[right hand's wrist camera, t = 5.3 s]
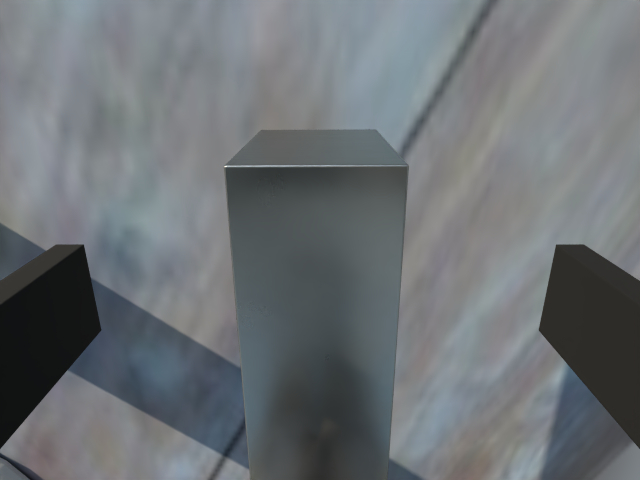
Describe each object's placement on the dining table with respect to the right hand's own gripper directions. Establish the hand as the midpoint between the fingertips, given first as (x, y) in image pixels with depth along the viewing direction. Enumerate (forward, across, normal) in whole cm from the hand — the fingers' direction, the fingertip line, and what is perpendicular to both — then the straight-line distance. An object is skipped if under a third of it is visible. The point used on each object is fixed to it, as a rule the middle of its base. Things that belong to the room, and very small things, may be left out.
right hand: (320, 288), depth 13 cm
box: (+11, 0, -8) cm, 14 cm away
